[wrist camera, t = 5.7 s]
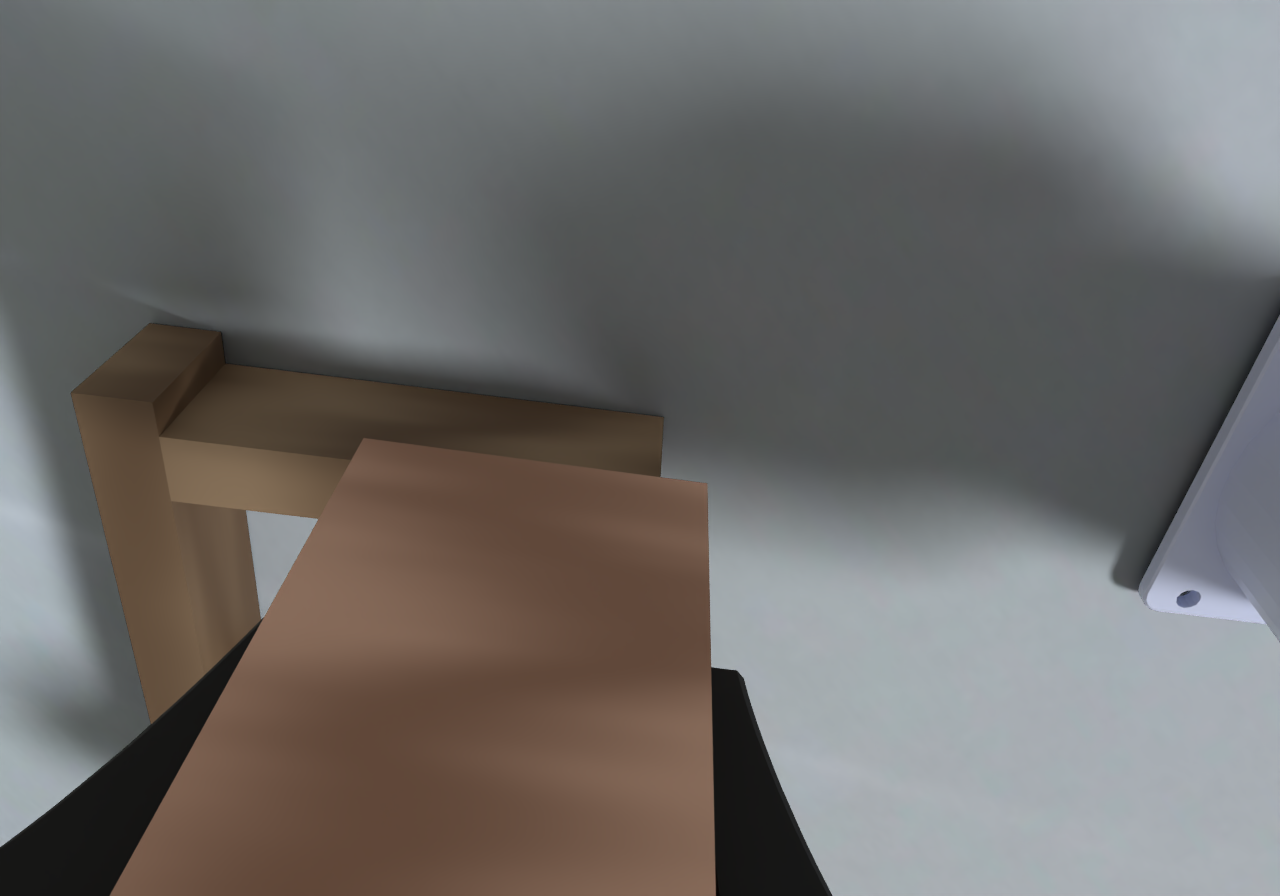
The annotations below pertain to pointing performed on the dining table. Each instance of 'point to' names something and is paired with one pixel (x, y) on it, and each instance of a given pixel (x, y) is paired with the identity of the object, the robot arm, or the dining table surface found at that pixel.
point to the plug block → (463, 696)
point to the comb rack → (269, 474)
